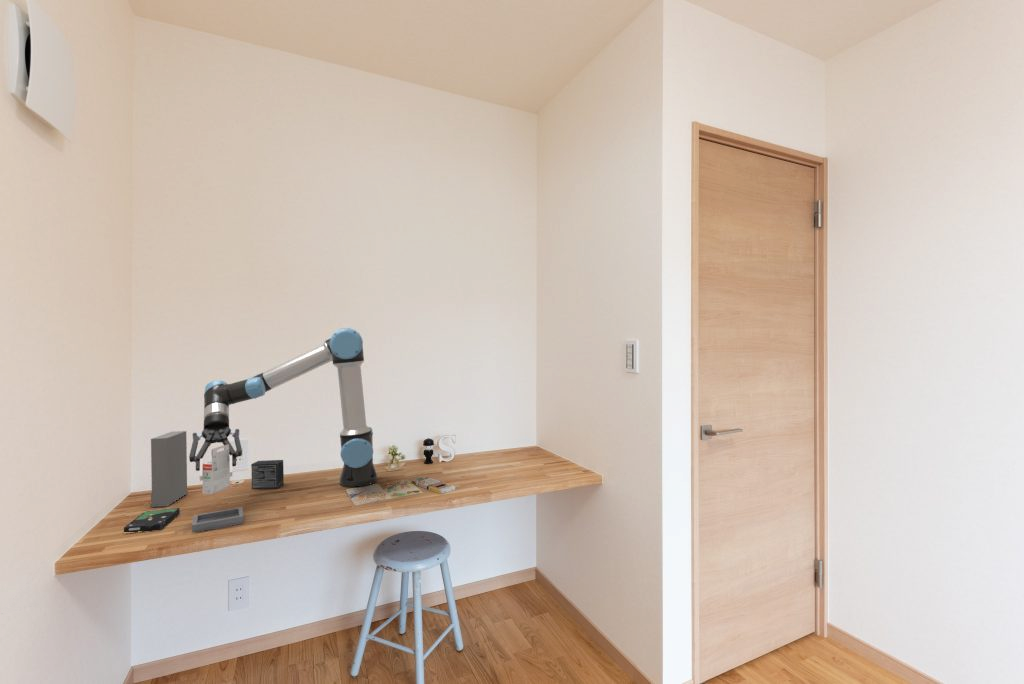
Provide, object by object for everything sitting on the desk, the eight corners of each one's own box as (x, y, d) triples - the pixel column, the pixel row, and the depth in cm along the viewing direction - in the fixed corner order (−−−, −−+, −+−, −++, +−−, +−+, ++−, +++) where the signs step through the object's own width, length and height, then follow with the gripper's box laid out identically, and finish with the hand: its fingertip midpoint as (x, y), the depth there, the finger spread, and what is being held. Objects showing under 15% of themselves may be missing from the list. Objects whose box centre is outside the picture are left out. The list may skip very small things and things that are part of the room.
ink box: (201, 494, 150) (201, 449, 149) (220, 486, 157) (220, 443, 157) (212, 494, 149) (211, 449, 149) (230, 487, 157) (230, 443, 157)
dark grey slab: (170, 495, 182) (169, 431, 182) (187, 494, 183) (186, 430, 183) (149, 508, 168) (148, 439, 168) (167, 506, 169) (166, 438, 169)
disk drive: (162, 532, 148) (180, 514, 162) (162, 523, 148) (180, 506, 162) (123, 536, 145) (144, 518, 159) (123, 527, 145) (144, 510, 159)
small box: (284, 484, 195) (284, 459, 195) (278, 489, 188) (277, 463, 188) (258, 485, 194) (258, 459, 194) (250, 490, 187) (250, 464, 187)
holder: (242, 514, 161) (242, 506, 161) (243, 523, 153) (243, 515, 153) (193, 522, 154) (193, 515, 154) (192, 533, 145) (192, 525, 145)
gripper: (249, 422, 171) (251, 477, 158) (181, 428, 161) (178, 487, 147) (249, 410, 167) (252, 465, 153) (180, 415, 156) (176, 475, 143)
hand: (216, 476), depth 150 cm, fingers closed on ink box, 7 cm apart
